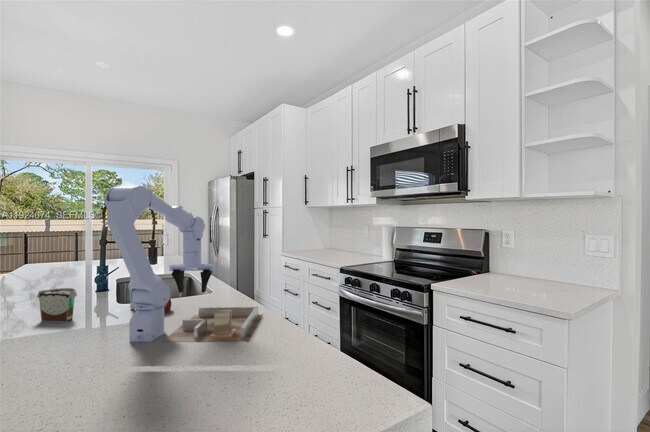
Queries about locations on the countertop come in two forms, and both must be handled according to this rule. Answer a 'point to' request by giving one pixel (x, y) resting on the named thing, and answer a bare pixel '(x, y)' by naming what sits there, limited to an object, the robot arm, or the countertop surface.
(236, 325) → the walnut board
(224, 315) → the maple block
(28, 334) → the countertop surface
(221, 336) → the pad
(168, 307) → the fruit
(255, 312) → the channel walls
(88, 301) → the countertop surface
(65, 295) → the food container
